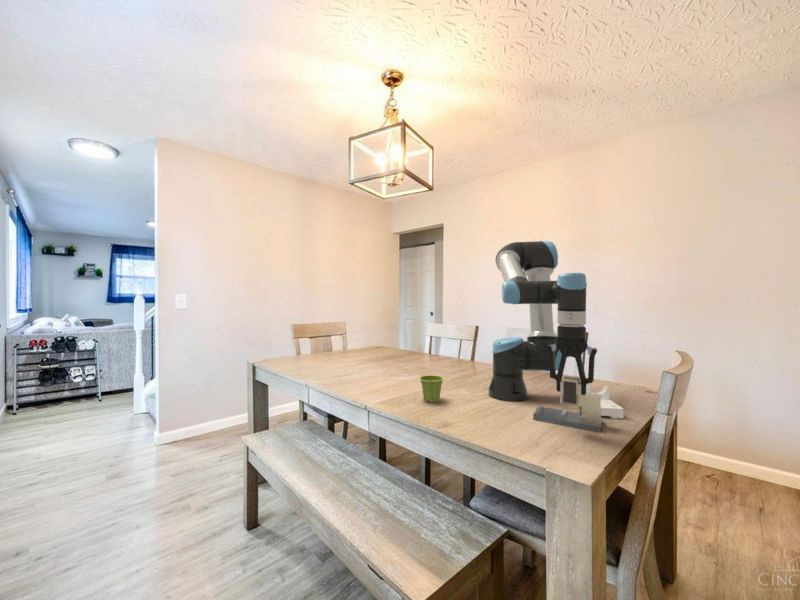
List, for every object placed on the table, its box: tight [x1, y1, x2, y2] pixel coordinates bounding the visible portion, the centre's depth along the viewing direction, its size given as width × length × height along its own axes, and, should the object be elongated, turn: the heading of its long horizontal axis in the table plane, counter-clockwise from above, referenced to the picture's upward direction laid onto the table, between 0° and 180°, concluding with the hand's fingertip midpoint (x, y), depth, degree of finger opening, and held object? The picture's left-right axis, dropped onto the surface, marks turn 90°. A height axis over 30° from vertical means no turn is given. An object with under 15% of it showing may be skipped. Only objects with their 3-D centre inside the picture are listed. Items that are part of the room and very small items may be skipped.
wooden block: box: [561, 375, 581, 410], centre depth 100 cm, size 5×4×8 cm
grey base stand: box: [532, 392, 604, 433], centre depth 110 cm, size 19×10×10 cm, turn 55°
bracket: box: [586, 385, 624, 420], centre depth 118 cm, size 13×7×8 cm, turn 170°
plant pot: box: [419, 374, 445, 402], centre depth 133 cm, size 9×9×9 cm
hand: (571, 403), depth 101 cm, fingers closed on wooden block, 4 cm apart
